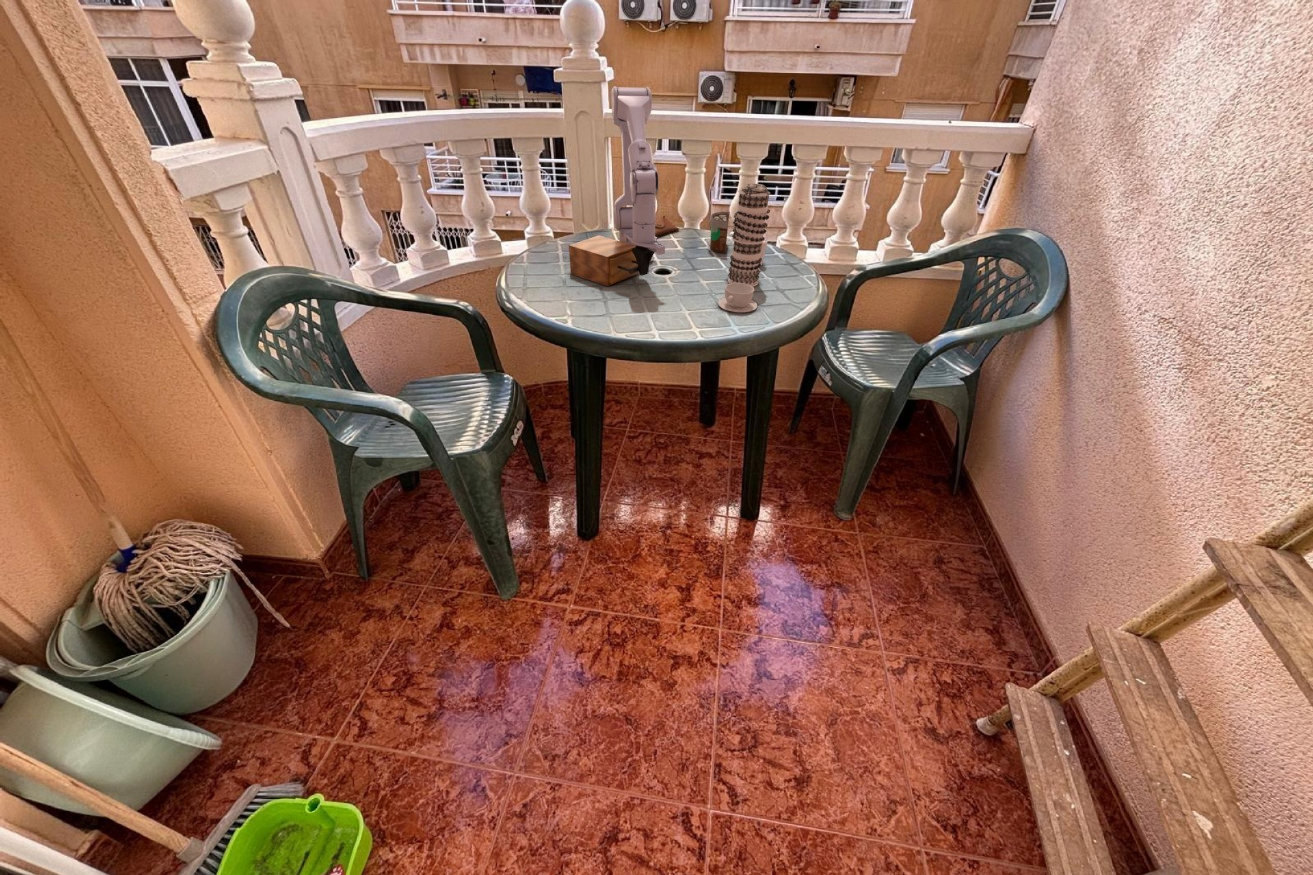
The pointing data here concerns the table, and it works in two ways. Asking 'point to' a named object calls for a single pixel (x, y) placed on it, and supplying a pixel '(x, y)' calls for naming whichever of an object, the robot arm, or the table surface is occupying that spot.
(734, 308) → the teacup
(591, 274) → the cabinet
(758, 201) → the decorative candle
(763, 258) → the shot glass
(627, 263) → the drawer
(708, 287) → the table surface
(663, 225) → the sunglasses case
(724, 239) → the food container
